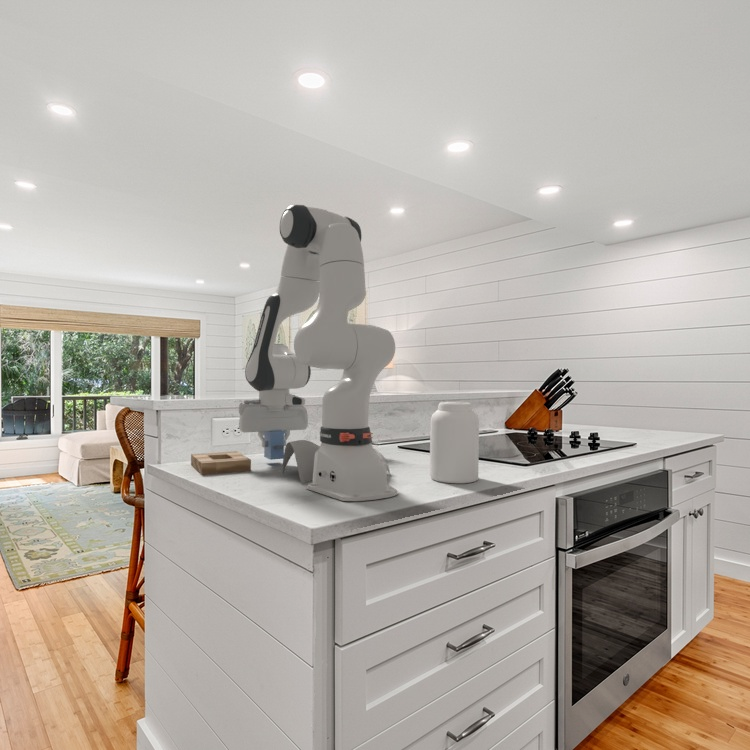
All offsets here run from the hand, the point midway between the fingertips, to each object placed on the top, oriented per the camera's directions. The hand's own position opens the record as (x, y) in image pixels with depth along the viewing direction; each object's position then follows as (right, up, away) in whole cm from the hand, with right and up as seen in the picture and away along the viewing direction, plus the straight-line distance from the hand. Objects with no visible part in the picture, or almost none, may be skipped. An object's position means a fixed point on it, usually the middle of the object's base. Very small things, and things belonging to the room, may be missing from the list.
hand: (274, 446), depth 152 cm
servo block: (0, -3, 0) cm, 3 cm away
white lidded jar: (+50, -6, -18) cm, 54 cm away
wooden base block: (-14, -5, -7) cm, 16 cm away
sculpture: (+19, -6, -14) cm, 24 cm away
